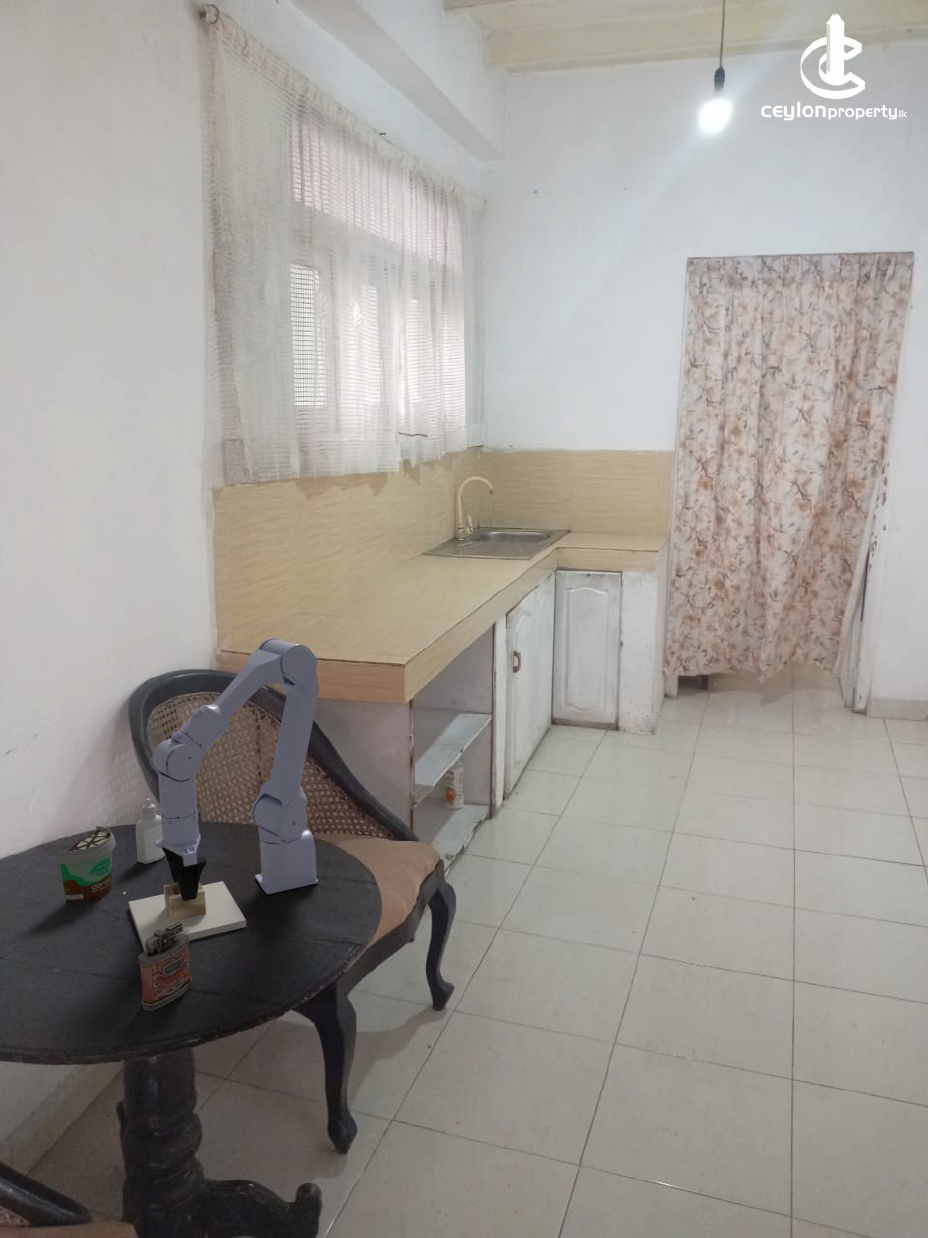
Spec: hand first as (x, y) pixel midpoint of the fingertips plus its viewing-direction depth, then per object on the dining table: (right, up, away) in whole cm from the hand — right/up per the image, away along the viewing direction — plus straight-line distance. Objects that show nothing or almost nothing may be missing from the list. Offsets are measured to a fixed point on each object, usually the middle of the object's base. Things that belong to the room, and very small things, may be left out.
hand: (184, 889), depth 154 cm
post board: (0, -5, +1) cm, 5 cm away
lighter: (+4, -9, -21) cm, 24 cm away
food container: (-19, -4, +10) cm, 22 cm away
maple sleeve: (0, -4, +1) cm, 4 cm away
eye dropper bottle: (-13, -1, +24) cm, 28 cm away
